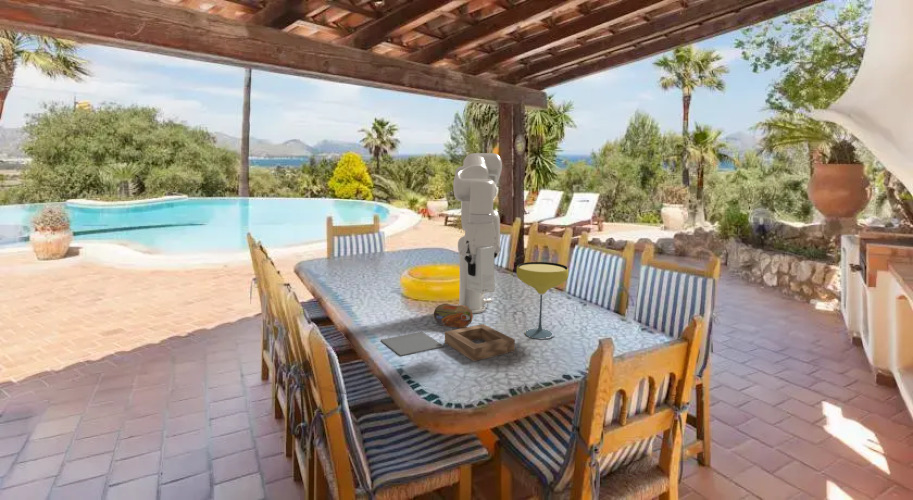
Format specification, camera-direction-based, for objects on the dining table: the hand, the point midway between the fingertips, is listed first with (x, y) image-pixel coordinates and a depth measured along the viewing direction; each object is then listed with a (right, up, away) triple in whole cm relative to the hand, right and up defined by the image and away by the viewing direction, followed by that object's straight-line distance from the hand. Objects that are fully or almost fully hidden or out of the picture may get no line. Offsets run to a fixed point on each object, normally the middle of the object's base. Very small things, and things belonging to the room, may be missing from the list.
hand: (480, 273), depth 155 cm
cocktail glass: (+22, -23, +17) cm, 36 cm away
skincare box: (0, -6, +1) cm, 6 cm away
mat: (-23, -24, +7) cm, 34 cm away
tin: (-9, -21, +26) cm, 34 cm away
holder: (0, -25, +4) cm, 25 cm away
